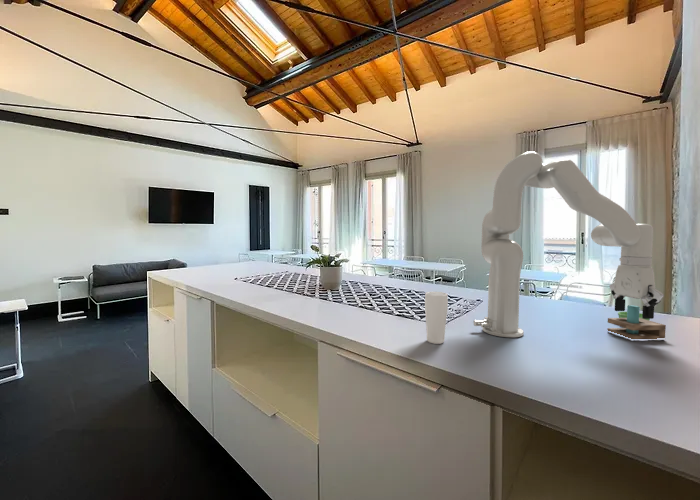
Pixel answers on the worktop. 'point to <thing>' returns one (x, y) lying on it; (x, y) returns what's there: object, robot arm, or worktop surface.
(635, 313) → the peg
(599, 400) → the worktop surface
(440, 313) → the drinking glass
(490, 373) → the worktop surface
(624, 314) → the ramekin
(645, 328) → the block
